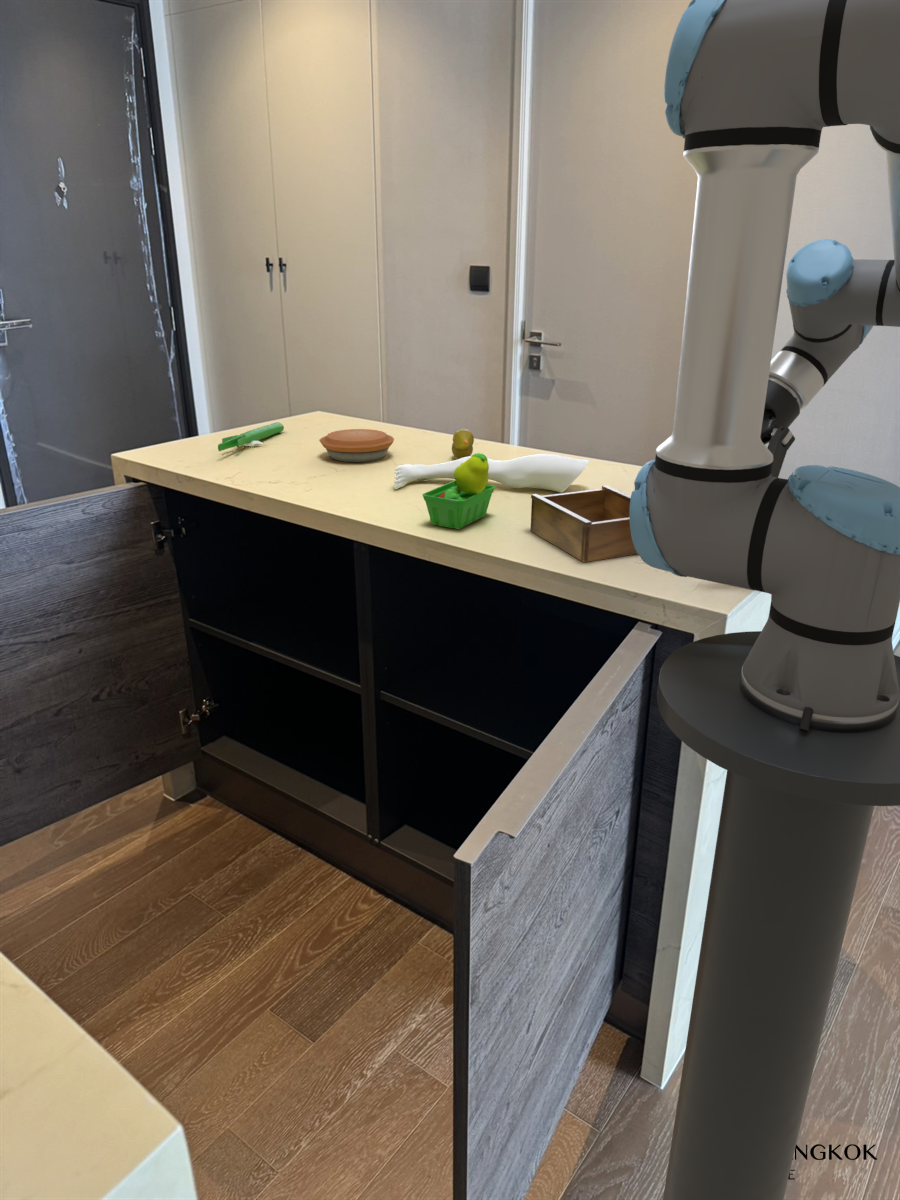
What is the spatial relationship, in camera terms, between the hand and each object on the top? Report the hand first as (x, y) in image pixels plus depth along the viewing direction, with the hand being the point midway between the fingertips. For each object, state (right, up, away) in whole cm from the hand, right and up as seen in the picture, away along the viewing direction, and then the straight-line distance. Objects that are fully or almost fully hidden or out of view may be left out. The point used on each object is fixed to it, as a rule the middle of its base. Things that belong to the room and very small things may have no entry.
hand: (675, 515), depth 116 cm
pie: (-50, +19, +65) cm, 84 cm away
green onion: (-74, +22, +74) cm, 107 cm away
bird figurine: (-28, +18, +63) cm, 71 cm away
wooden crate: (-9, -2, +14) cm, 17 cm away
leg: (-23, +9, +42) cm, 49 cm away
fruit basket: (-28, +1, +23) cm, 37 cm away
